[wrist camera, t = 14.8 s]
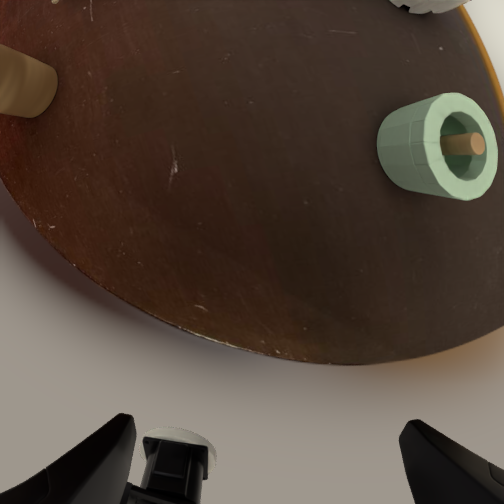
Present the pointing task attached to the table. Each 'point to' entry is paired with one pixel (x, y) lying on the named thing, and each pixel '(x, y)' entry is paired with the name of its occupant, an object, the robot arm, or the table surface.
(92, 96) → the table surface
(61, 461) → the robot arm
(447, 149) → the stepped wooden peg
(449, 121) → the mint green tube
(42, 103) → the post
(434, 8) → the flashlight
